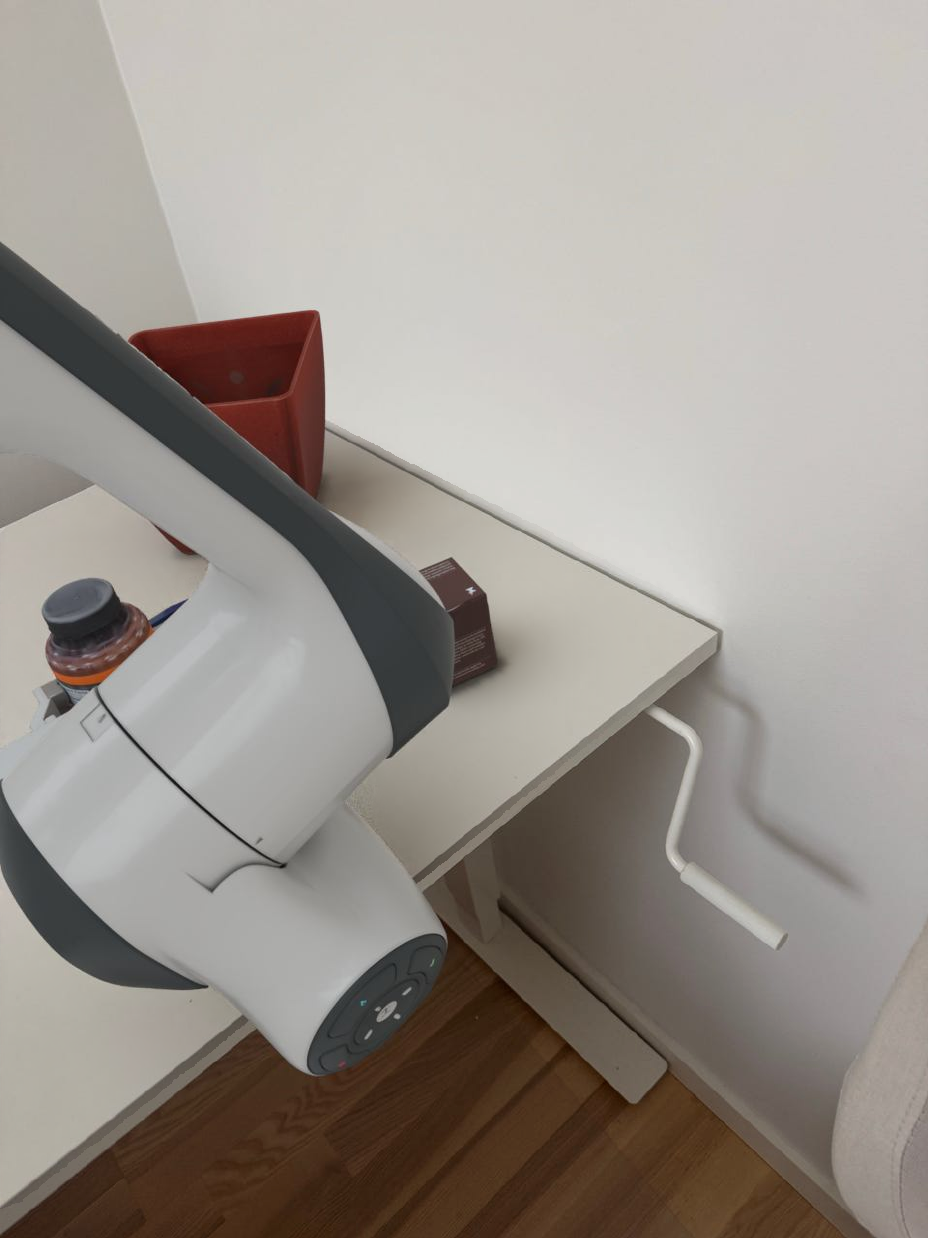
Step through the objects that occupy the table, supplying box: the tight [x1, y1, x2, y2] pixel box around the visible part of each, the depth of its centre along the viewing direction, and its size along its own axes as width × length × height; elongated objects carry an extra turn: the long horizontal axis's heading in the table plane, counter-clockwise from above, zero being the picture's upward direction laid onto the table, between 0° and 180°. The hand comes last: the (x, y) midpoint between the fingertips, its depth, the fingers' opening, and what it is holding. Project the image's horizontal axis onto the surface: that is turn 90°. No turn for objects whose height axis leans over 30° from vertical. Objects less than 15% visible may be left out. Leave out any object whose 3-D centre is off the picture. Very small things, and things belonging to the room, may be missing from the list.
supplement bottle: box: [41, 577, 154, 706], centre depth 56 cm, size 6×6×11 cm
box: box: [418, 556, 499, 687], centre depth 73 cm, size 6×6×7 cm
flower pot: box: [127, 309, 326, 554], centre depth 92 cm, size 19×19×17 cm
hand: (106, 662), depth 57 cm, fingers closed on supplement bottle, 6 cm apart
